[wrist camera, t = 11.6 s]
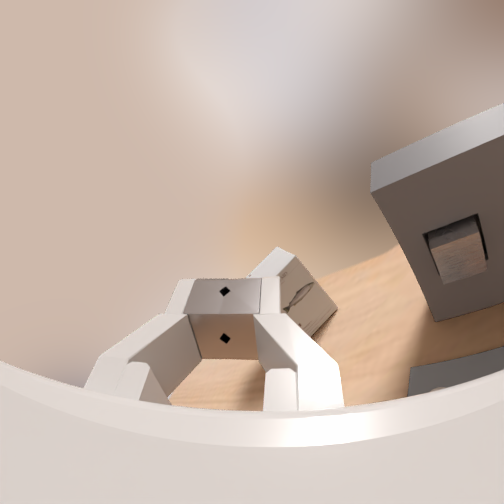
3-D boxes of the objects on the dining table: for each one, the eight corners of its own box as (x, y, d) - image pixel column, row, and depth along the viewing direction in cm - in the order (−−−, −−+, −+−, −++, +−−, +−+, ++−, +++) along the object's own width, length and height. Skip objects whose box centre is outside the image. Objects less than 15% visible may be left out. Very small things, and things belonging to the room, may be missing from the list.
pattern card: (525, 431, 12) (526, 429, 12) (398, 450, 21) (397, 449, 21) (520, 342, 19) (521, 339, 18) (411, 368, 28) (410, 366, 28)
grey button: (487, 270, 20) (479, 231, 18) (443, 284, 24) (430, 249, 22) (481, 249, 22) (471, 211, 20) (440, 263, 26) (427, 228, 24)
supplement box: (308, 341, 44) (258, 292, 39) (288, 323, 51) (242, 277, 46) (340, 308, 45) (296, 254, 40) (317, 293, 51) (275, 245, 47)
